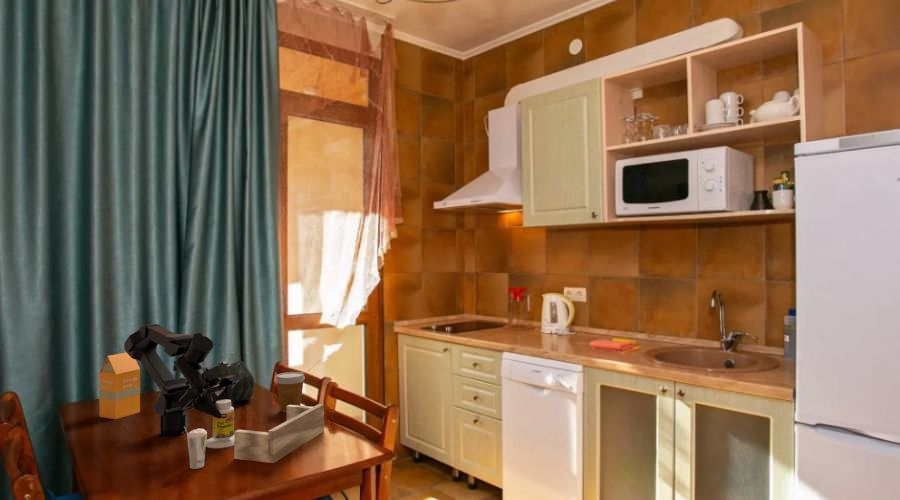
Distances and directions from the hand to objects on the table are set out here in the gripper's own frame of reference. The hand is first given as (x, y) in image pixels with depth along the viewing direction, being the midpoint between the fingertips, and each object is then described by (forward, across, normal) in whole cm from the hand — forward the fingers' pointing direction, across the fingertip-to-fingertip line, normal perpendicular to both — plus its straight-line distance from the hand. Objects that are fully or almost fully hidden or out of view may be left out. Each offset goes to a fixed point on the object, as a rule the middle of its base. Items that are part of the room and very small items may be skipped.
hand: (227, 414), depth 153 cm
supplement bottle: (+4, 0, +6) cm, 7 cm away
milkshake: (+8, -17, +3) cm, 19 cm away
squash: (-13, +37, +25) cm, 46 cm away
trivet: (+5, 0, +6) cm, 8 cm away
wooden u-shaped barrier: (+16, +3, -6) cm, 18 cm away
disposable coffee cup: (+6, +32, +6) cm, 33 cm away
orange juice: (-31, +13, +43) cm, 54 cm away
